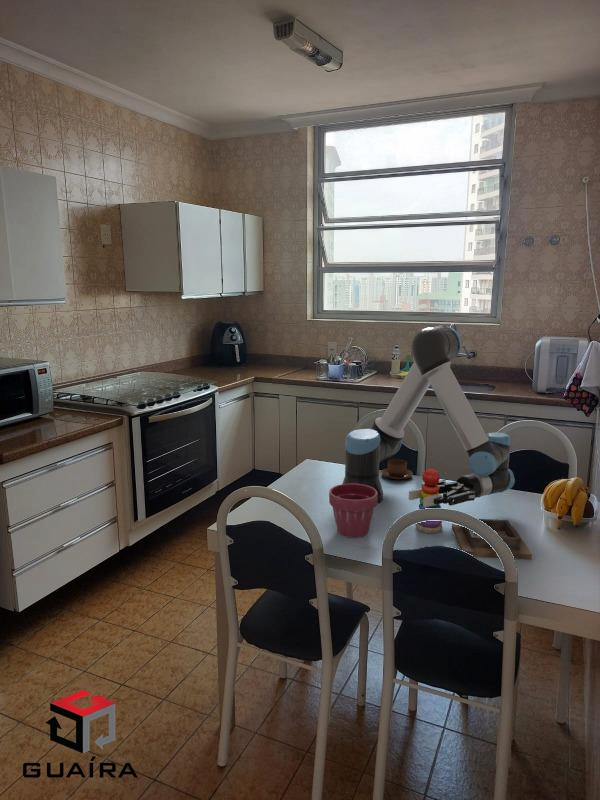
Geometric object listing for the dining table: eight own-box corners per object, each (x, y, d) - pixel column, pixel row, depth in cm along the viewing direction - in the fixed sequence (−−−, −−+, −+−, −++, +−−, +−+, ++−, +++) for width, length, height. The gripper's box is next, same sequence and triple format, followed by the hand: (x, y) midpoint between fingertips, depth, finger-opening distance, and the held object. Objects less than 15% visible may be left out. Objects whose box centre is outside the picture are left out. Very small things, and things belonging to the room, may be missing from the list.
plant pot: (320, 534, 163) (320, 493, 161) (342, 518, 175) (342, 480, 173) (364, 546, 156) (365, 503, 153) (384, 528, 168) (385, 488, 165)
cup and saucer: (386, 470, 223) (386, 455, 222) (415, 474, 218) (416, 459, 217) (377, 479, 213) (377, 463, 211) (408, 483, 208) (408, 468, 206)
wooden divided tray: (463, 556, 150) (464, 540, 149) (451, 528, 168) (452, 514, 167) (531, 559, 148) (533, 543, 147) (513, 531, 166) (514, 517, 165)
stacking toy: (444, 525, 169) (448, 467, 165) (439, 536, 162) (443, 476, 158) (418, 521, 172) (422, 464, 168) (412, 531, 165) (416, 472, 161)
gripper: (495, 507, 167) (438, 522, 156) (451, 488, 183) (396, 500, 171) (497, 483, 165) (439, 497, 154) (452, 466, 181) (396, 477, 170)
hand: (416, 499), depth 163 cm, fingers closed on stacking toy, 6 cm apart
